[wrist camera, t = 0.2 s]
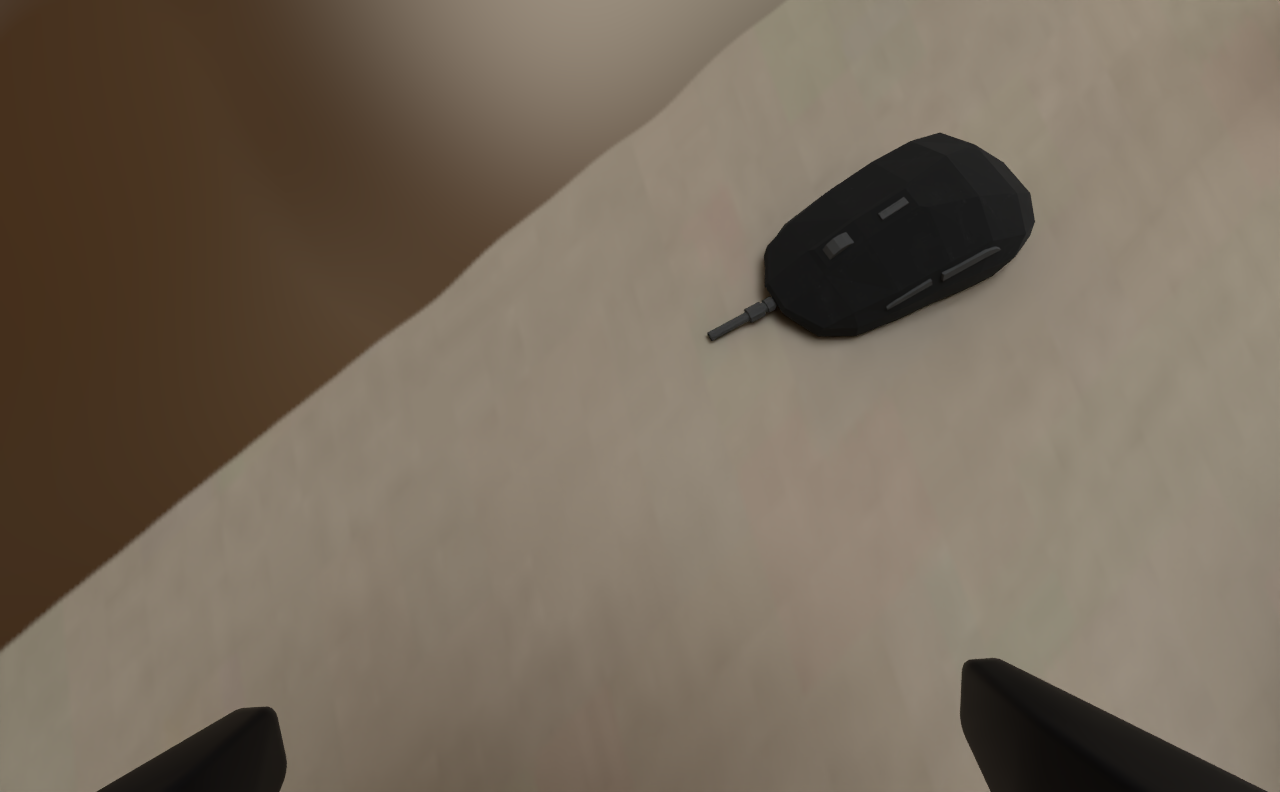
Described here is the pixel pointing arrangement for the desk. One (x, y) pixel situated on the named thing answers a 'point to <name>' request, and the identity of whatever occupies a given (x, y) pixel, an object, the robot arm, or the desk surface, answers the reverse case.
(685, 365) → the desk surface
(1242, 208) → the desk surface
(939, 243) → the gaming mouse
